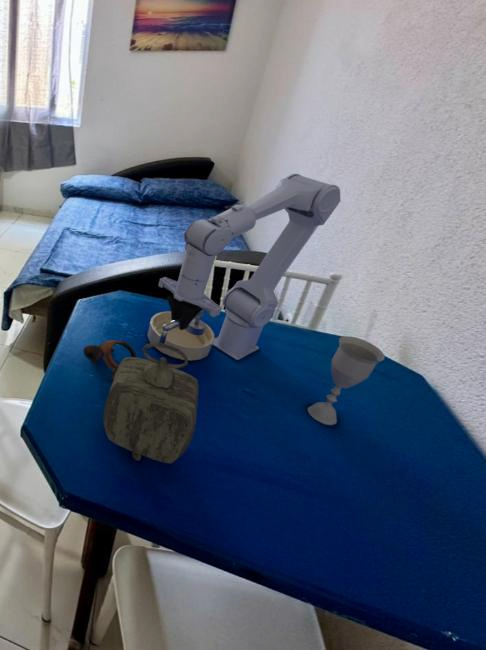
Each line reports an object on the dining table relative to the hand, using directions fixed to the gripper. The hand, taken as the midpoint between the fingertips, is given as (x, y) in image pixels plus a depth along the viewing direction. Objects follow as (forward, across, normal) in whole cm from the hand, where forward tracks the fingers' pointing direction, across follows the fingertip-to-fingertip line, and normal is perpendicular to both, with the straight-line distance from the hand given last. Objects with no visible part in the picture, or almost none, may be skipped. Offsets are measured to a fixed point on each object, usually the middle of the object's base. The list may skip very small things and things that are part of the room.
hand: (179, 325), depth 94 cm
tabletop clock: (+11, +14, -26) cm, 32 cm away
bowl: (+10, -4, +8) cm, 13 cm away
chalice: (+11, +28, +14) cm, 33 cm away
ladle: (+4, 0, +2) cm, 4 cm away
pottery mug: (+11, -6, -15) cm, 19 cm away
